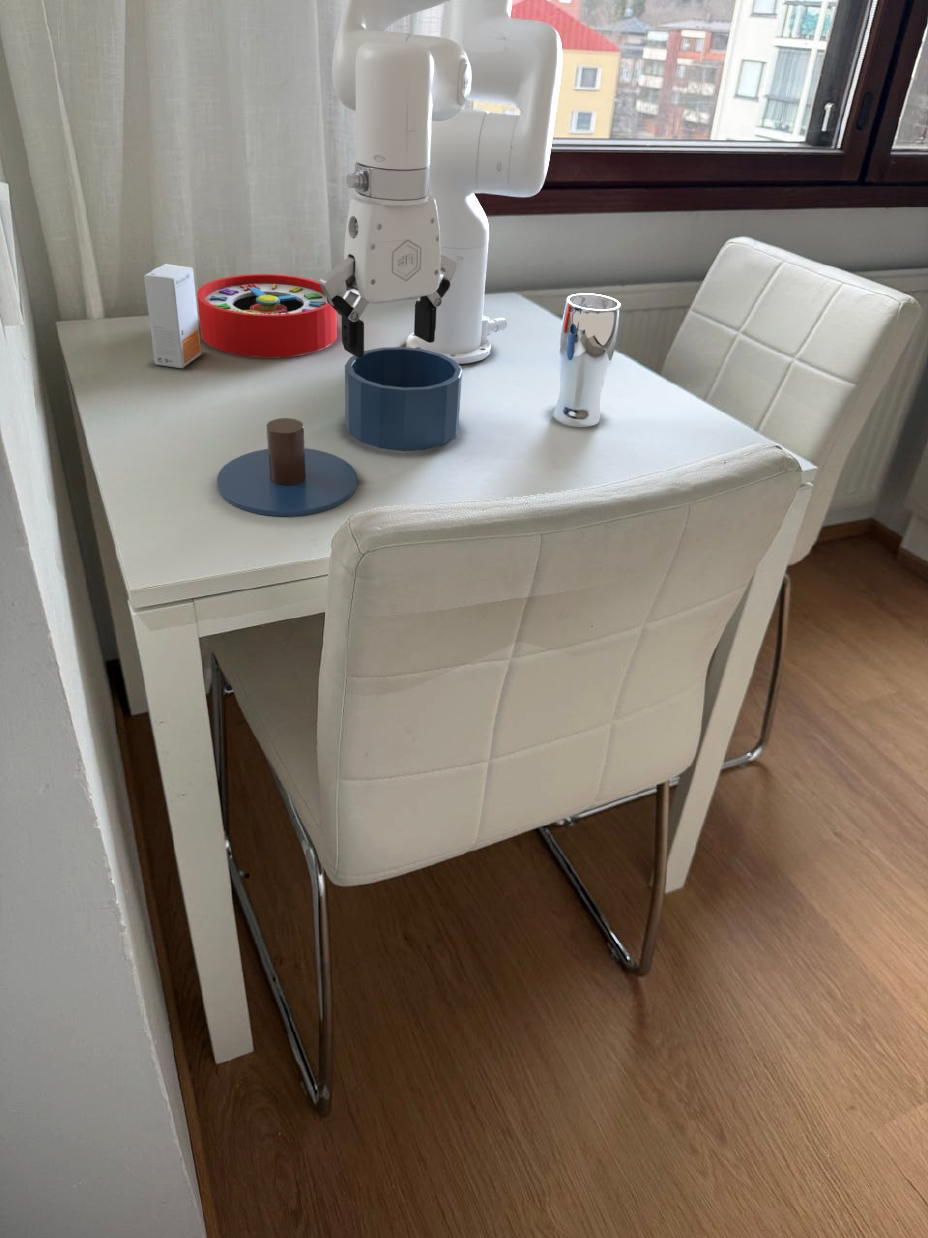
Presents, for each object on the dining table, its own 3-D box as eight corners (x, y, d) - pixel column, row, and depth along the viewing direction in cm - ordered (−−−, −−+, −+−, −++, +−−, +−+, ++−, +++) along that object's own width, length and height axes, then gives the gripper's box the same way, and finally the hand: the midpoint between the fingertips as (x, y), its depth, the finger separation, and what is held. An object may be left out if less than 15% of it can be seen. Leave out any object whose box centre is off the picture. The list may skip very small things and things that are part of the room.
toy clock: (226, 323, 122) (177, 281, 136) (230, 365, 126) (182, 320, 139) (360, 306, 132) (302, 268, 145) (360, 346, 135) (303, 305, 148)
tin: (415, 400, 120) (417, 340, 116) (479, 439, 112) (484, 376, 107) (325, 421, 113) (324, 358, 109) (386, 464, 105) (387, 398, 100)
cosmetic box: (183, 369, 124) (173, 278, 117) (154, 365, 124) (141, 274, 117) (203, 354, 129) (193, 266, 122) (174, 350, 129) (163, 262, 122)
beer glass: (607, 413, 121) (627, 298, 112) (596, 433, 116) (615, 314, 107) (557, 403, 123) (572, 289, 114) (543, 422, 117) (558, 304, 109)
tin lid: (313, 446, 107) (311, 387, 103) (383, 498, 98) (384, 437, 94) (194, 475, 100) (187, 413, 96) (258, 535, 91) (253, 470, 86)
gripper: (340, 197, 87) (342, 370, 97) (480, 184, 96) (469, 343, 106) (300, 181, 92) (306, 348, 102) (438, 170, 101) (431, 324, 111)
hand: (389, 345), depth 104 cm, fingers open, 9 cm apart
